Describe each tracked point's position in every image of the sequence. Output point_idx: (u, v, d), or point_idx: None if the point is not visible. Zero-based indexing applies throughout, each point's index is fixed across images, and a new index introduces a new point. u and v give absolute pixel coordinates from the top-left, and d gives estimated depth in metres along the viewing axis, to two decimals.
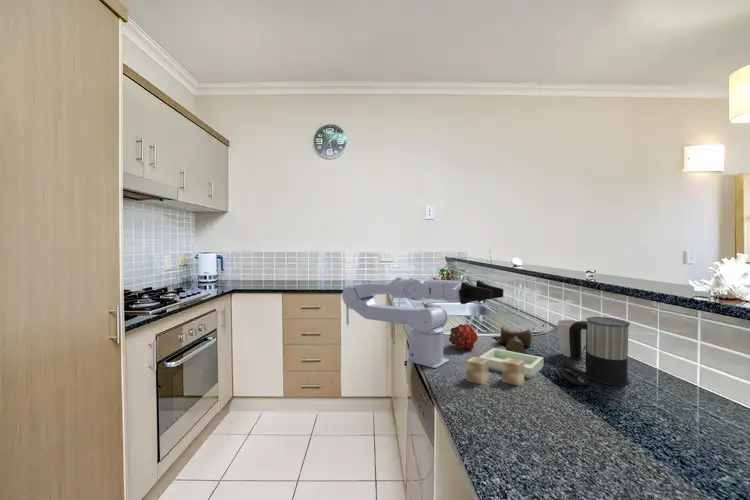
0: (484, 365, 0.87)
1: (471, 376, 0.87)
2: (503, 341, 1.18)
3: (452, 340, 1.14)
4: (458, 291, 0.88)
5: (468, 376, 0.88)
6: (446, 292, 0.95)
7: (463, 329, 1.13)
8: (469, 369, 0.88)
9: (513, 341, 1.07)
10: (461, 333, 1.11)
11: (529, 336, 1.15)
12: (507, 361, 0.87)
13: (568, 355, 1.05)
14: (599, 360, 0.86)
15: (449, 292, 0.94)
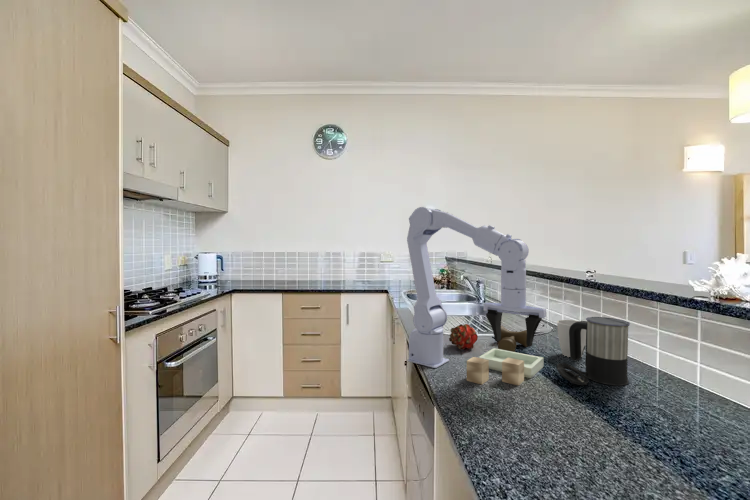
0: (484, 365, 0.87)
1: (471, 376, 0.87)
2: (500, 340, 1.19)
3: (452, 340, 1.14)
4: None
5: (468, 376, 0.88)
6: (524, 292, 0.85)
7: (463, 329, 1.13)
8: (469, 369, 0.88)
9: (504, 340, 1.08)
10: (461, 333, 1.11)
11: (526, 336, 1.15)
12: (507, 361, 0.87)
13: (568, 355, 1.05)
14: (599, 360, 0.86)
15: (524, 296, 0.85)
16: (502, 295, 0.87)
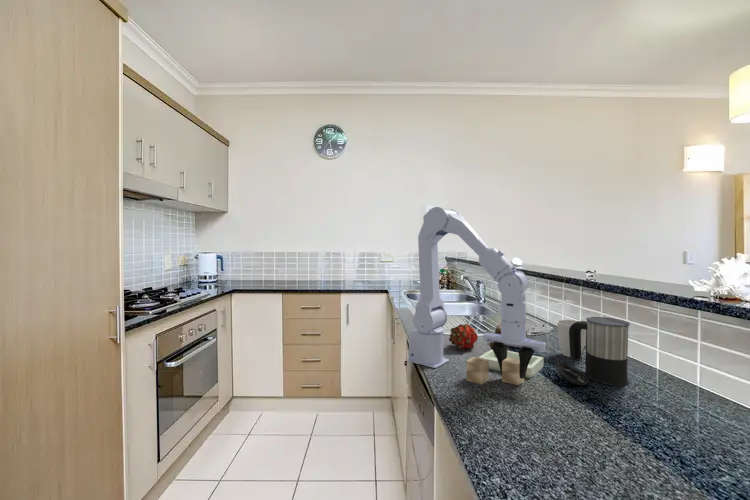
0: (484, 365, 0.87)
1: (471, 376, 0.87)
2: None
3: (452, 340, 1.14)
4: None
5: (468, 376, 0.88)
6: (524, 325, 0.85)
7: (463, 329, 1.13)
8: (469, 369, 0.88)
9: None
10: (461, 333, 1.11)
11: None
12: (507, 361, 0.87)
13: (568, 355, 1.05)
14: (599, 360, 0.86)
15: (524, 329, 0.85)
16: (502, 327, 0.87)
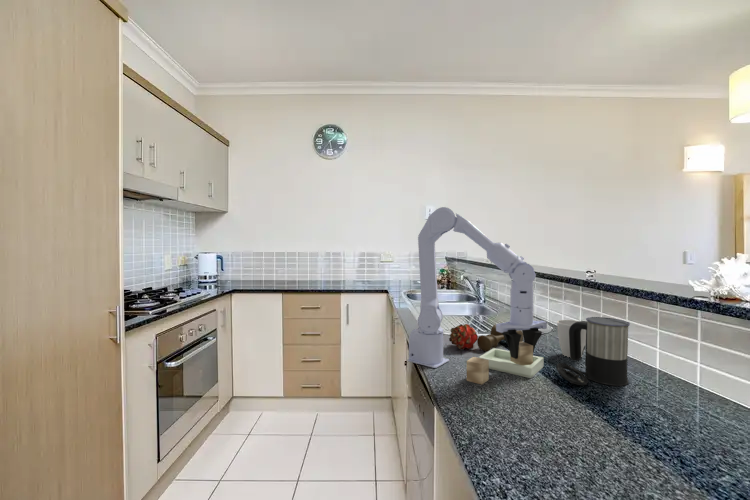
0: (484, 365, 0.87)
1: (471, 376, 0.87)
2: None
3: (452, 340, 1.14)
4: None
5: (468, 376, 0.88)
6: None
7: (463, 329, 1.13)
8: (469, 369, 0.88)
9: (482, 336, 1.12)
10: (461, 333, 1.11)
11: None
12: (521, 345, 0.94)
13: (568, 355, 1.05)
14: (599, 361, 0.86)
15: None
16: (520, 315, 0.93)
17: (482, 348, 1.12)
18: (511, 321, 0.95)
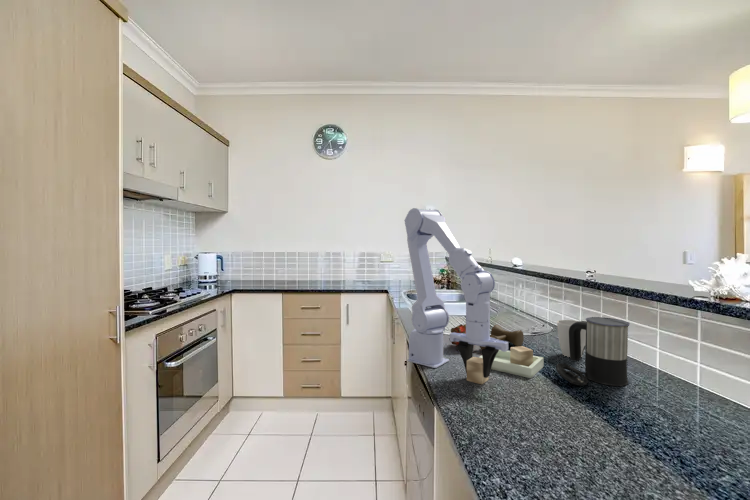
0: None
1: (471, 376, 0.87)
2: None
3: None
4: None
5: (468, 376, 0.88)
6: (488, 325, 0.86)
7: (463, 329, 1.13)
8: (469, 369, 0.88)
9: None
10: None
11: (515, 336, 1.15)
12: (521, 350, 0.94)
13: (568, 355, 1.05)
14: (598, 361, 0.86)
15: (488, 329, 0.86)
16: (466, 327, 0.88)
17: None
18: None
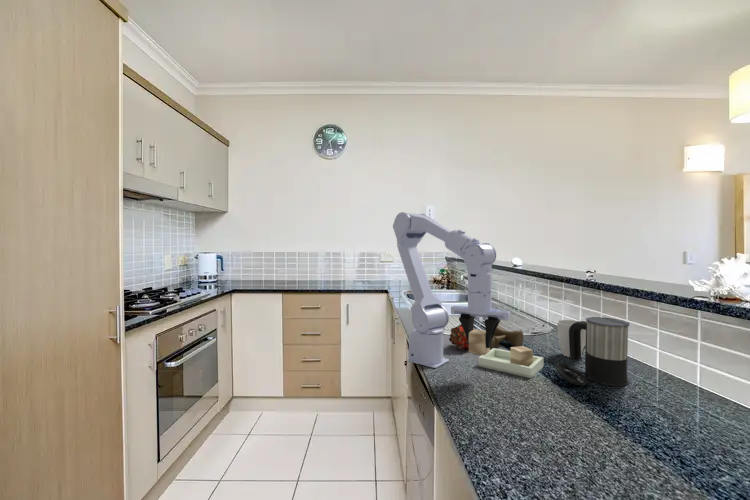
0: None
1: (473, 347, 0.88)
2: None
3: (452, 340, 1.14)
4: None
5: (470, 348, 0.88)
6: (490, 296, 0.87)
7: (463, 329, 1.13)
8: (471, 341, 0.88)
9: None
10: (461, 333, 1.11)
11: (515, 336, 1.15)
12: (521, 350, 0.94)
13: (568, 355, 1.05)
14: (598, 361, 0.86)
15: (490, 299, 0.87)
16: (469, 298, 0.88)
17: None
18: None
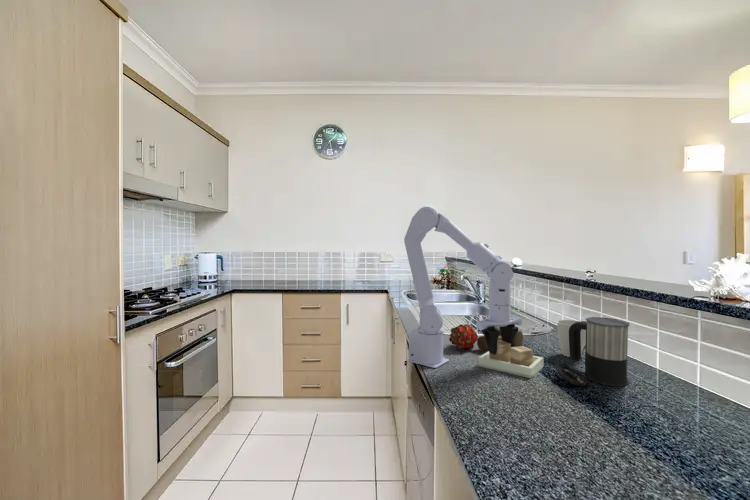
0: None
1: (503, 357, 0.97)
2: None
3: (452, 340, 1.14)
4: None
5: (501, 359, 0.97)
6: None
7: (463, 329, 1.13)
8: (501, 352, 0.97)
9: (482, 337, 1.12)
10: (461, 333, 1.11)
11: None
12: (521, 350, 0.94)
13: (568, 355, 1.05)
14: (598, 361, 0.86)
15: None
16: (499, 312, 0.96)
17: (482, 349, 1.12)
18: (490, 318, 0.99)
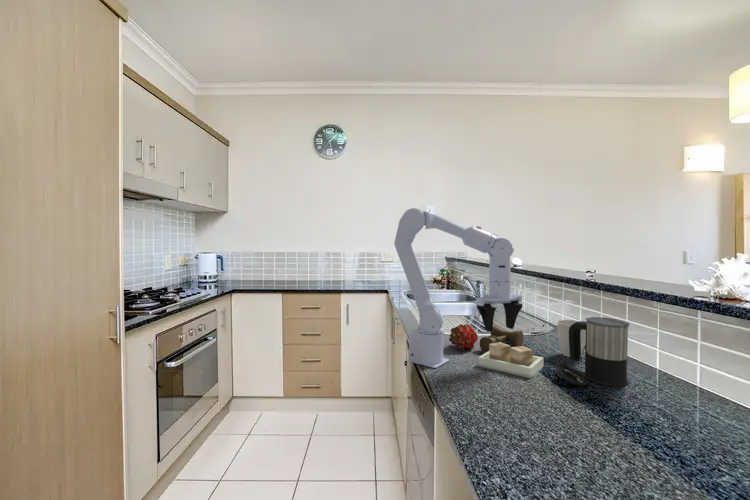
0: None
1: (503, 360, 0.97)
2: None
3: (452, 340, 1.14)
4: None
5: None
6: None
7: (463, 329, 1.13)
8: (501, 354, 0.97)
9: (485, 338, 1.11)
10: (461, 333, 1.11)
11: (516, 336, 1.15)
12: (521, 350, 0.94)
13: (568, 355, 1.05)
14: (598, 361, 0.86)
15: None
16: (499, 288, 0.96)
17: (485, 350, 1.11)
18: (490, 295, 0.99)
